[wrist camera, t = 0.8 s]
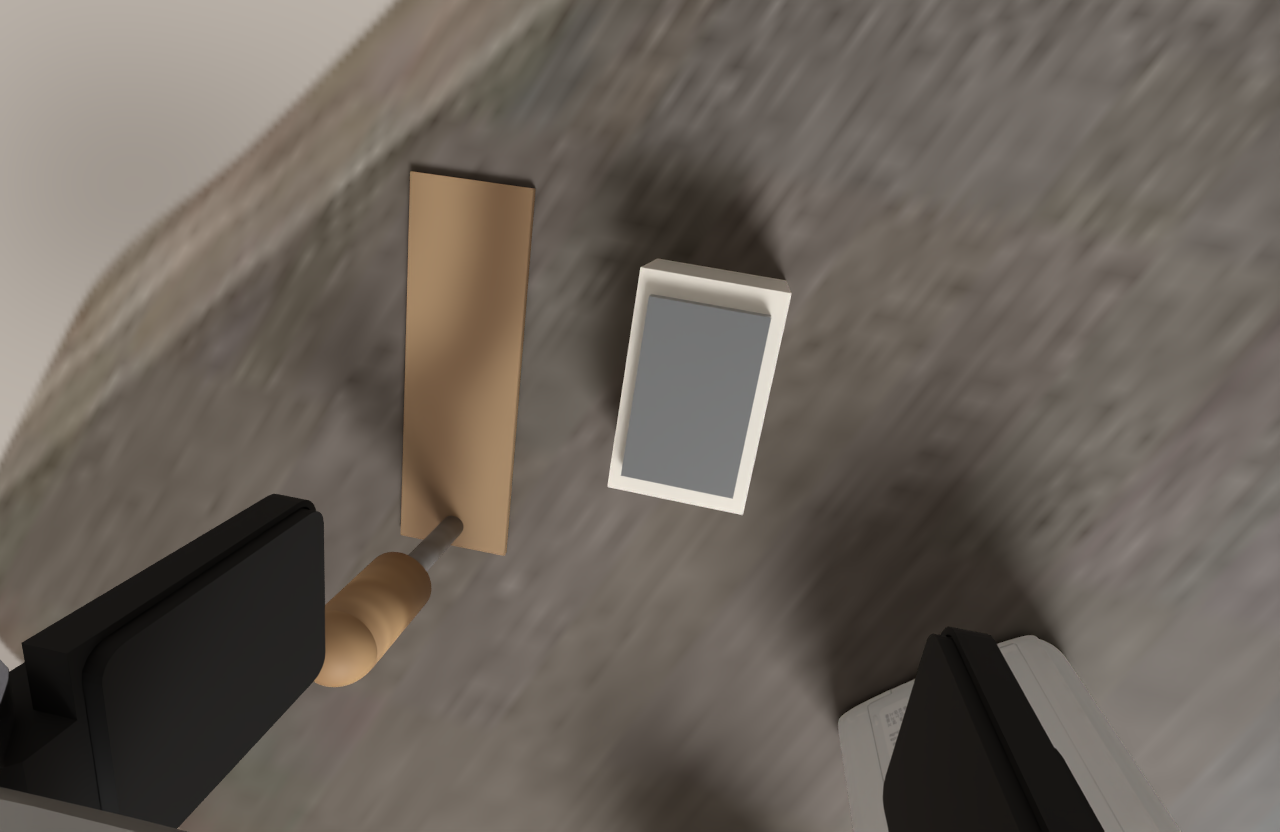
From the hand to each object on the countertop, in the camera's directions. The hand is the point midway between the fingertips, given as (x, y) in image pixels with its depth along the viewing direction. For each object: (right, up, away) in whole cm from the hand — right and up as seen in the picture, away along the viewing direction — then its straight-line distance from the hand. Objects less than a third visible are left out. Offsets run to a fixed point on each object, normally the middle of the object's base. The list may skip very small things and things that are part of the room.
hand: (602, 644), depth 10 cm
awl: (-8, -2, +21) cm, 22 cm away
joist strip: (-7, +5, +19) cm, 21 cm away
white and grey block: (+3, +5, +17) cm, 19 cm away
